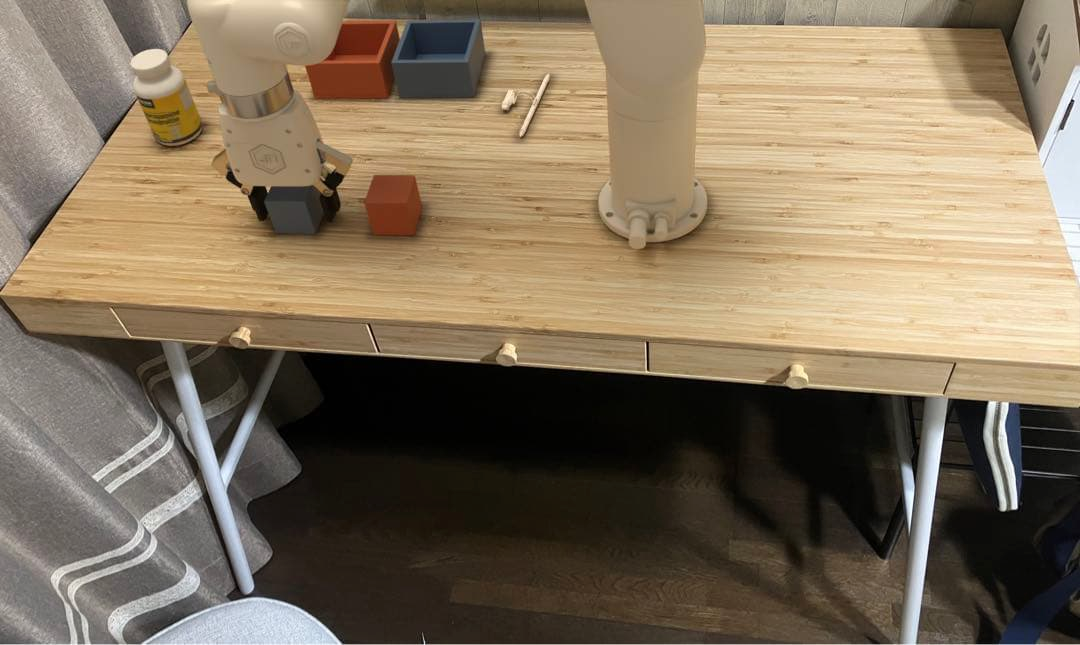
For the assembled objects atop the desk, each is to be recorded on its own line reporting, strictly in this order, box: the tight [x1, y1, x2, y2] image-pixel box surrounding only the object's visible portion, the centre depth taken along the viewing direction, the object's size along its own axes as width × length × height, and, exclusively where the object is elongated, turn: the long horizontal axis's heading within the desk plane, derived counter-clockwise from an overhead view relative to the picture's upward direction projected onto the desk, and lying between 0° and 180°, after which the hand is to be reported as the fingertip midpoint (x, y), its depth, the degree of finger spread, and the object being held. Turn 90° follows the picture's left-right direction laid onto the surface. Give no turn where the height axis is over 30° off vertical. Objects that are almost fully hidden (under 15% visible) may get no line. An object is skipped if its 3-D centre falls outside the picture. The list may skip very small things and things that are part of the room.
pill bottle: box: [130, 48, 203, 147], centre depth 132 cm, size 6×6×12 cm
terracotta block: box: [364, 174, 423, 236], centre depth 118 cm, size 5×5×5 cm
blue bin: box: [391, 18, 486, 99], centre depth 138 cm, size 10×10×6 cm
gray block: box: [264, 185, 324, 235], centre depth 120 cm, size 5×5×5 cm
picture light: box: [501, 73, 551, 138], centre depth 133 cm, size 14×4×2 cm, turn 165°
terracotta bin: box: [304, 20, 401, 99], centre depth 140 cm, size 10×10×6 cm
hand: (299, 213), depth 121 cm, fingers open, 7 cm apart
